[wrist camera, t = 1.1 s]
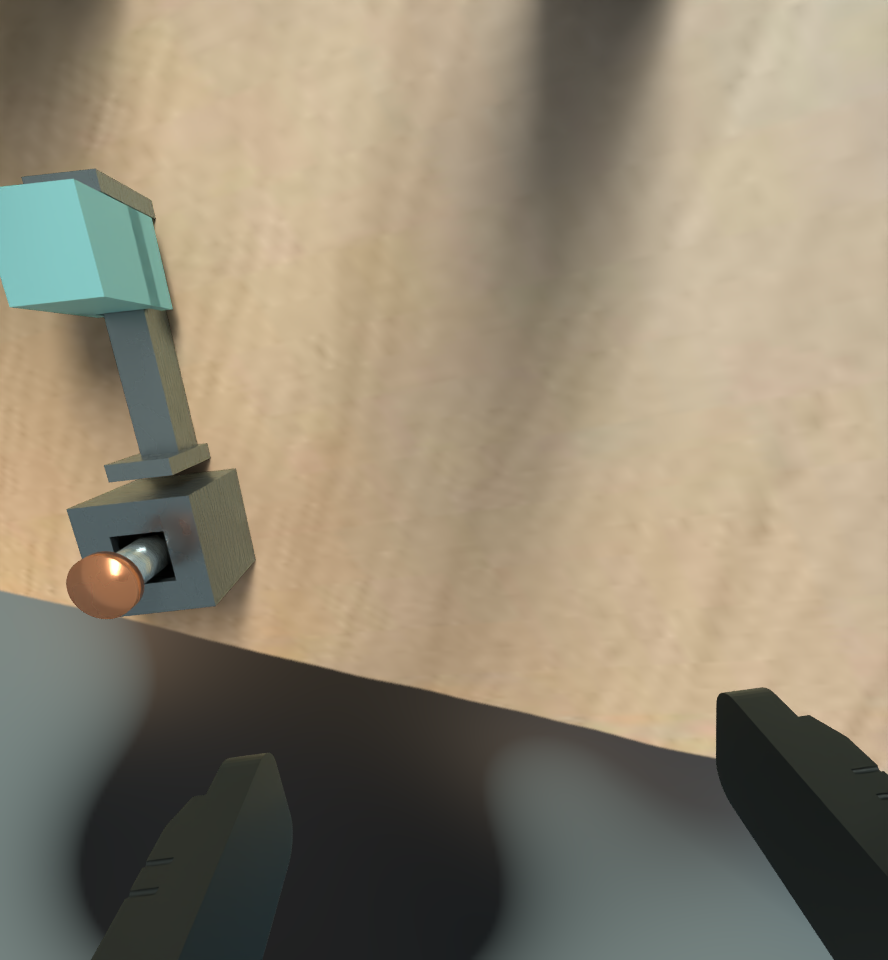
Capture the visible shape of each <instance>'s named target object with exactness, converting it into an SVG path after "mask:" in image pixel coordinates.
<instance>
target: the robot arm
mask: <svg viewBox="0 0 888 960" xmlns="http://www.w3.org/2000/svg"><path fill="white" fill-rule="evenodd" d="M716 765H717V771H718V775H719V779H720V782H721V785H722V787H723V790H724V792H725V794H726V796H727V798H728V800H729V802H730V804H731V805H732V807H733V808H734V810H735V811H736V813H737V814H738V816H739V817H740V819H741V820H742V822H743V823H744V825H745V826H746V828H747V829H748V831H749V832H750V834H751V835H752V837H753V838H754V840H755V841H756V843H757V844H758V846H759V847H760V849H761V850H762V852H763V853H764V855H765V856H766V858H767V859H768V861H769V863H770V864H771V865H772V867H773V869H774V870H775V872H776V873H777V875H778V876H779V878H780V879H781V880H782V882H783V883H784V885H785V887H786V888H787V890H788V891H789V893H790V894H791V896H792V897H793V899H794V900H795V902H796V903H797V905H798V906H799V908H800V909H801V911H802V912H803V914H804V915H805V917H806V918H807V920H808V921H809V923H810V924H811V926H812V927H813V929H814V930H815V932H816V933H817V935H818V936H819V938H820V939H821V941H822V942H823V944H824V945H825V947H826V948H827V950H828V952H829V953H830V955H831V956H832V957H833V959H834V960H888V775H887V774H886V773H885V772H884V771H882V772H881V771H880V770H879V769H878V765H877V764H876V763H874V762H873V761H872V760H871V759H870V758H869V757H868V756H867V755H866V754H865V753H864V752H863V751H862V750H860V749H859V748H858V747H857V746H856V745H855V744H854V743H853V742H852V741H851V740H850V739H849V738H847V737H846V736H844V735H843V734H841V733H839V732H838V731H836V730H834V729H832V728H831V727H829V726H827V725H825V724H824V723H822V722H820V721H819V720H817V719H815V718H813V717H812V716H810V715H807V716H800V717H798V716H797V715H796V714H795V713H794V712H793V711H792V710H791V709H790V708H789V707H788V706H787V705H786V704H785V703H784V702H783V701H782V700H781V699H780V698H779V697H778V696H777V695H776V694H774V693H773V692H772V691H771V690H769V689H767V688H763V687H762V688H754V689H747V690H740V691H732V692H725V693H720V694H719V695H718V697H717V704H716ZM292 840H293V829H292V819H291V815H290V811H289V808H288V804H287V800H286V797H285V793H284V789H283V786H282V782H281V779H280V775H279V771H278V768H277V764H276V761H275V758H274V756H273V755H272V754H271V753H263V754H256V755H249V756H241V757H234V758H228V759H226V760H225V761H224V762H223V763H222V764H221V767H220V768H219V770H218V772H217V774H216V776H215V778H214V780H213V782H212V784H211V786H210V788H209V790H208V792H207V794H206V795H201V796H194V797H193V798H191V800H190V801H189V802H188V803H187V804H186V805H185V806H184V807H183V808H182V809H181V810H180V812H178V814H177V815H176V816H175V817H174V818H173V819H172V820H171V821H170V822H169V823H168V824H167V826H166V827H165V828H164V830H163V832H162V834H161V836H160V837H159V839H158V841H157V843H156V845H155V846H154V848H153V850H152V852H151V853H150V855H149V857H148V859H147V864H146V867H145V868H142V870H141V871H140V873H139V875H138V877H137V879H136V880H135V882H134V884H133V886H132V888H131V889H130V895H129V898H126V899H125V900H124V902H123V904H122V905H121V907H120V909H119V911H118V913H117V915H116V916H115V918H114V920H113V922H112V923H111V925H110V927H109V929H108V931H107V932H106V934H105V936H104V938H103V940H102V941H101V943H100V945H99V947H98V948H97V951H96V952H95V954H94V956H93V957H92V959H91V960H262V959H263V955H264V951H265V948H266V944H267V940H268V937H269V933H270V930H271V926H272V922H273V919H274V915H275V912H276V908H277V904H278V901H279V897H280V894H281V890H282V886H283V883H284V879H285V876H286V872H287V869H288V865H289V861H290V856H291V850H292Z"/></svg>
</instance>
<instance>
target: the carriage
mask: <svg viewBox="0 0 888 960" xmlns="http://www.w3.org/2000/svg"><path fill="white" fill-rule="evenodd" d="M0 277H1V280H2V284H3V287H4V290H5V293H6V297H7V300H8V303H9V306H10V307H13V308H21V309H29V310H37V311H46V312H54V313H62V314H71V315H79V316H87V317H96V318H101V317H104V315H103V314H104V313H113V312H122V311H131V310H140V309H155V310H161V311H163V310H172V309H173V308H172V304H171V300H170V295H169V291H168V287H167V282H166V278H165V274H164V269H163V265H162V261H161V256H160V252H159V248H158V244H157V239H156V235H155V231H154V226H153V222H152V218H151V217H149V216H147V215H145V214H143V213H141V212H139V211H137V210H135V209H133V208H131V207H129V206H127V205H125V204H123V203H121V202H119V201H117V200H115V199H113V198H111V197H109V196H107V195H105V194H103V193H101V192H99V191H97V190H95V189H93V188H91V187H89V186H87V185H85V184H83V183H81V182H79V181H77V180H75V179H66V180H57V181H48V182H39V183H30V184H21V185H12V186H3V187H0Z"/></svg>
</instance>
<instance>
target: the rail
mask: <svg viewBox="0 0 888 960" xmlns="http://www.w3.org/2000/svg"><path fill="white" fill-rule="evenodd" d="M66 179H75V180H77V181H79V182H81V183H83V184H85V185H87V186H89V187H91V188H93V189H95V190H97V191H99V192H101V193H103V194H105V195H107V196H109V197H111V198H113V199H115V200H117V201H119V202H121V203H123V204H125V205H127V206H129V207H131V208H133V209H135V210H137V211H139V212H141V213H143V214H145V215H147V216H149V217H151V218H152V219H155V214H154V210H153V206H152V201H151V200H150V199H148V198H146V197H144V196H143V195H141V194H139V193H137V192H136V191H134V190H132V189H130V188H129V187H127V186H125V185H123V184H121V183H120V182H118V181H116V180H114V179H113V178H111V177H109V176H107V175H106V174H104V173H102V172H100V171H98V170H97V169H88V170H79V171H70V172H61V173H53V174H44V175H35V176H26V177H22V181H23V184H30V183H39V182H48V181H57V180H66ZM103 315H104V318H105V322H106V326H107V330H108V333H109V337H110V341H111V345H112V348H113V352H114V356H115V360H116V363H117V367H118V371H119V375H120V378H121V382H122V386H123V390H124V394H125V397H126V401H127V405H128V409H129V412H130V416H131V420H132V424H133V427H134V431H135V435H136V439H137V442H138V446H139V450H140V454H137V455H134V456H131V457H128V458H125V459H122V460H119V461H116V462H113V463H110V464H107V465H104V467H105V471H106V474H107V478H108V481H109V482H117V481H125V480H134V479H143V478H152V477H161V476H170V475H174V474H176V473H179V472H181V471H183V470H185V469H187V468H189V467H192V466H194V465H196V464H198V463H200V462H203V461H205V460H207V459H209V458H211V457H210V453H209V449H208V444H207V443H205V444H197V441H196V437H195V432H194V428H193V424H192V420H191V415H190V411H189V407H188V403H187V399H186V394H185V390H184V386H183V382H182V377H181V373H180V369H179V365H178V360H177V356H176V352H175V348H174V343H173V339H172V335H171V331H170V326H169V322H168V318H167V314H166V310H163V311H161V310H155V309H140V310H131V311H122V312H113V313H104V314H103Z"/></svg>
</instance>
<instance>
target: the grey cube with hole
mask: <svg viewBox="0 0 888 960" xmlns="http://www.w3.org/2000/svg"><path fill="white" fill-rule="evenodd" d="M67 512H68V516H69V519H70V522H71V525H72V528H73V532H74V535H75V538H76V541H77V544H78V548H79V551H80V554H81V557H82V559H83V558H85V557H87V556H89V555H91V554H93V553H96V552H101V551H109V552H115V553H116V552H118V551H120V550H121V549H123V548H124V547H126V546H128V545H129V544H131V543H132V542H134V541H136V540H137V539H139V538H141V537H142V536H144V535H145V534H147V533H150V532H159V531H163V532H164V535H165V539H166V543H167V547H168V550H169V554H170V558H171V563H170V564H168V565H167V566H166V567H165V568H163V569H162V570H161V571H160V572H158V573H157V574H156V575H154V576H153V577H152V578H151V579H149V580H148V581H147V582H146V583H144V593H143V596H142V598H141V600H140V601H139V602H138V604H136V605H135V606H134V607H133V608H132V609H131V610H129V611H128V612H127V613H126V614H124V615H122V616H120V617H123V616H132V615H140V614H149V613H158V612H167V611H176V610H185V609H194V608H203V607H211V606H216V605H217V604H218V603H219V602H220V600H221V599H222V598H223V597H224V596H225V595H226V594H227V592H228V591H229V590H230V589H231V588H232V587H233V585H234V584H235V583H236V582H237V581H238V580H239V578H240V577H241V576H242V575H243V574H244V573H245V572H246V570H247V569H248V568H249V567H250V566H251V565H252V563H253V562H254V561H255V560H256V559H255V554H254V550H253V545H252V541H251V536H250V532H249V527H248V522H247V518H246V513H245V509H244V504H243V500H242V495H241V490H240V486H239V481H238V477H237V472H236V469H228V470H219V471H210V472H201V473H192V474H183V475H174V476H165V477H156V478H148V479H139V480H136V481H133V482H131V483H128V484H126V485H124V486H121V487H119V488H116V489H114V490H112V491H109V492H107V493H104V494H102V495H100V496H97V497H95V498H92V499H90V500H88V501H85V502H83V503H80V504H78V505H76V506H73V507H71V508H68V509H67Z"/></svg>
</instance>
